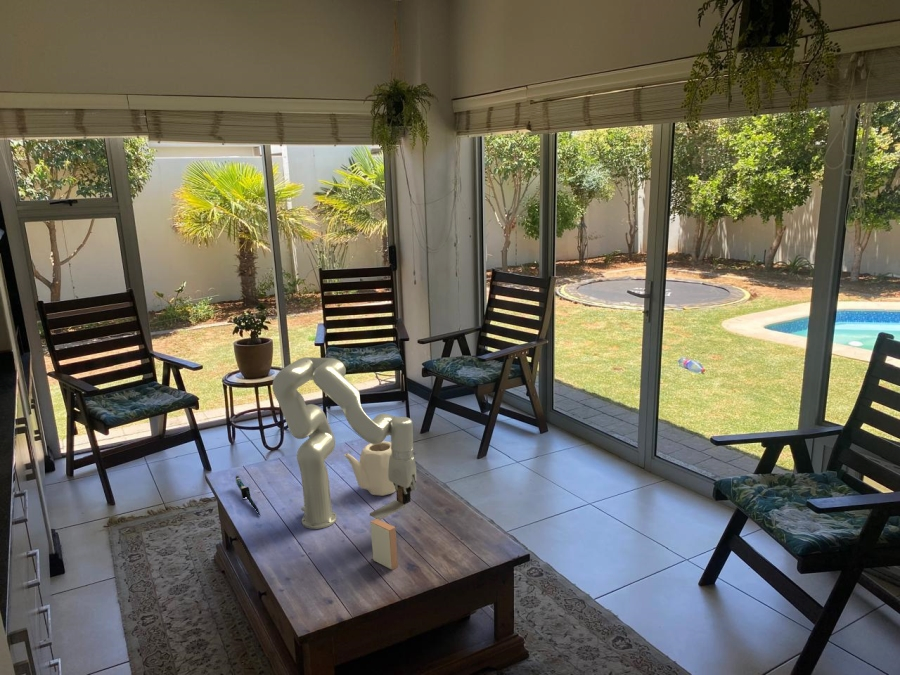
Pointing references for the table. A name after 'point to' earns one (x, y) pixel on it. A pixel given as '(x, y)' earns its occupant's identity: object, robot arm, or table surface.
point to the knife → (245, 492)
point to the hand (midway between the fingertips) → (403, 500)
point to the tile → (384, 543)
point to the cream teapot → (373, 468)
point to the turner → (390, 506)
